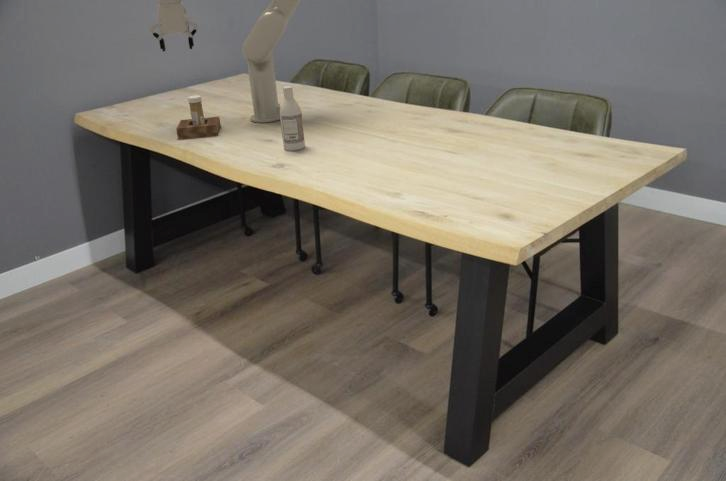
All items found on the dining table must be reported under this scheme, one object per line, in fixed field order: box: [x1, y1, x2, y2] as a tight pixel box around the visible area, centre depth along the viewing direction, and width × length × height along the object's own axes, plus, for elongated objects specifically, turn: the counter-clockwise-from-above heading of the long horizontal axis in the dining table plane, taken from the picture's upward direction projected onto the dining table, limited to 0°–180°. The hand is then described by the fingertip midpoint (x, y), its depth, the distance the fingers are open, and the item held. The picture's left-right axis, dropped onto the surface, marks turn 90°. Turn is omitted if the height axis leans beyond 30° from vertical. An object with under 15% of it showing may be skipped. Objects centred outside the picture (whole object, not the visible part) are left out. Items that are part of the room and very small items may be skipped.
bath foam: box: [279, 85, 306, 152], centre depth 231 cm, size 7×7×20 cm
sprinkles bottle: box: [187, 94, 205, 125], centre depth 258 cm, size 5×5×14 cm
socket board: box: [175, 116, 222, 141], centre depth 260 cm, size 14×12×4 cm
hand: (177, 49), depth 261 cm, fingers open, 9 cm apart
